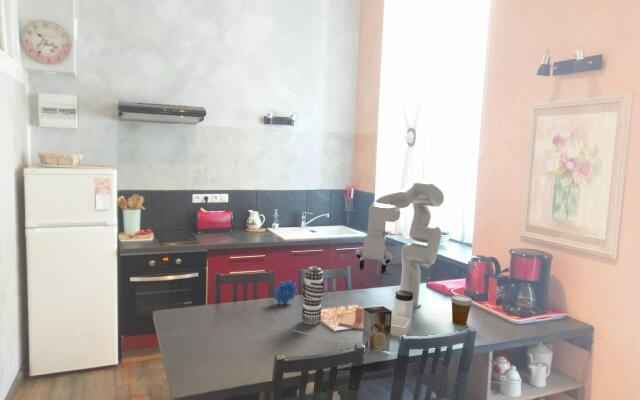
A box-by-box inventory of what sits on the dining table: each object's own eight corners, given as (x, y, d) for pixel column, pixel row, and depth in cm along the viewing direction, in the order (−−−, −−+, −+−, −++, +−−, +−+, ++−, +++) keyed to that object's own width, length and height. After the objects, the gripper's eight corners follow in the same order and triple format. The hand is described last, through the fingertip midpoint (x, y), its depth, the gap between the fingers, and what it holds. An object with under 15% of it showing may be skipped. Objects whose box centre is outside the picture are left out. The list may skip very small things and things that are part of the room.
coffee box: (381, 344, 191) (384, 305, 189) (389, 350, 185) (392, 311, 183) (361, 346, 187) (364, 307, 186) (369, 353, 182) (372, 313, 180)
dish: (384, 324, 213) (385, 313, 212) (410, 329, 208) (411, 318, 207) (376, 333, 202) (377, 322, 201) (404, 339, 197) (405, 328, 196)
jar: (401, 322, 217) (403, 296, 215) (389, 316, 223) (391, 291, 222) (415, 319, 222) (417, 294, 220) (403, 313, 228) (405, 289, 227)
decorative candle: (324, 321, 212) (328, 267, 209) (315, 328, 203) (319, 271, 200) (306, 317, 215) (309, 263, 213) (297, 323, 207) (300, 268, 204)
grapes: (293, 300, 238) (295, 277, 236) (297, 304, 231) (299, 280, 230) (271, 301, 234) (272, 278, 232) (274, 306, 227) (276, 282, 226)
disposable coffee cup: (445, 322, 220) (447, 297, 218) (454, 317, 227) (457, 293, 225) (464, 328, 213) (466, 302, 212) (473, 323, 220) (476, 298, 219)
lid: (349, 314, 220) (350, 300, 219) (378, 320, 215) (379, 306, 214) (338, 324, 207) (339, 309, 207) (369, 331, 202) (370, 315, 201)
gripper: (397, 235, 209) (393, 273, 210) (360, 229, 215) (356, 266, 217) (393, 237, 202) (389, 276, 203) (354, 231, 208) (351, 269, 210)
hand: (372, 271), depth 210 cm, fingers open, 9 cm apart
